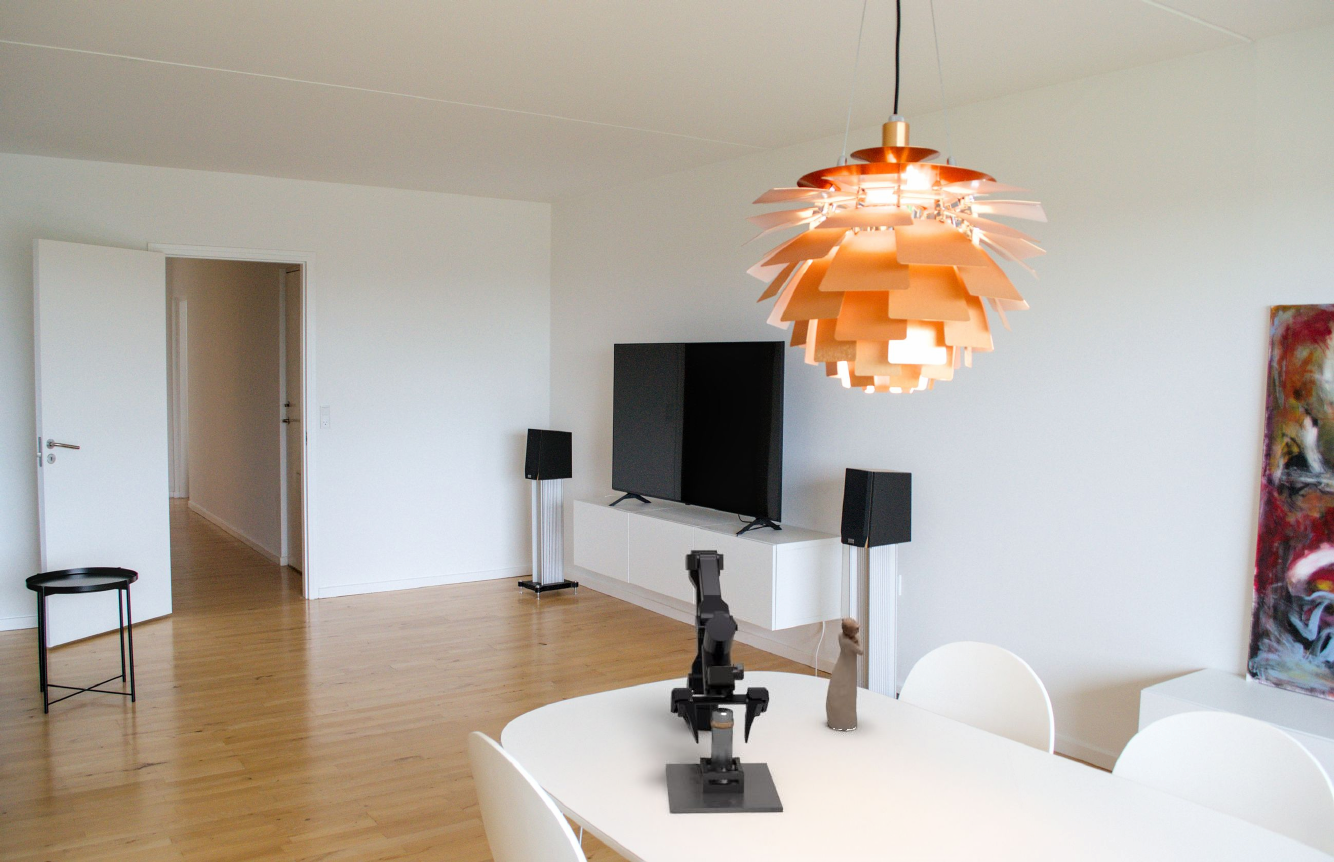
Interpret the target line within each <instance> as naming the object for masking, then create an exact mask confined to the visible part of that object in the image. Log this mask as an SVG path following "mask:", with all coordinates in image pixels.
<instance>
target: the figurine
mask: <svg viewBox="0 0 1334 862" xmlns="http://www.w3.org/2000/svg"><path fill="white" fill-rule="evenodd" d="M840 625H841V630H840V631H839V633H838V635H837V638H838V639H837V640H838V644H839V647H840V652H839V655H838V658H837V660H836V663H835V664H834V667H833V669H832V671H831V674H830V679H829V683H828V687H827V693H826V700H825V712H826V717H827V725H828V724H829V726H830V727H832V728H835V729H842V730H847V729H853V728H855V727H856V726H857V727H858V715H857V714H858V713H857V703H858V702H857V699H858V698H857V695H858V655H859V656H861V657H862V656H863V655H864V646H863V645H862V641H861V638H860V636H859V634H858V633H859V632H860V627H861V626H860V624H859V622H857V620H856V619H854V618H853V617H846V618H843V617H842V618H841V624H840ZM829 726H828V727H829ZM830 727H829V728H830ZM832 728H831V729H832Z"/></svg>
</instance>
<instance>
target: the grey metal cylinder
mask: <svg viewBox="0 0 1334 862" xmlns="http://www.w3.org/2000/svg"><path fill="white" fill-rule="evenodd" d="M734 725H735V720H734V710H733V709H731V708H728V707H719V708H715V709H713V710H712V718H711V726H712V729H711V730H710V731H711V737H710V739H711V740H710V741H711V742H710V743H711V745H710V746H711V748H710V749H711V750H710V751H711V752H710V758H711V772H713V771H732V757H733V749H734V748H733V747H734V746H733V745H734V742H733V741H734V740H733V739H734V738H733V736H734ZM711 783H732V779H728V780H711Z"/></svg>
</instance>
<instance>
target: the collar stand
mask: <svg viewBox="0 0 1334 862" xmlns="http://www.w3.org/2000/svg"><path fill="white" fill-rule="evenodd" d="M665 771H666V779H667V790H668V799H669V808H670V814H685V813H686V814H690V813H691V814H693V813H694V814H695V813H698V814H699V813H702V814H703V813H704V814H705V813H707V814H708V813H709V814H711V813H779V812H780V813H782V812H784V806H783V803H782V801H781V798H780V796H779V793H778V790H777V788H776V785H775V782H774V779H773V776H772V775H771V772H770V769H769V765H768V763H767V762H742V763H741V757H739V756H732V771H713V772H711V757H701V756H700V757H699V763H666V764H665ZM728 779H732V783H711V780H728Z"/></svg>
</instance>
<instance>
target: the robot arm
mask: <svg viewBox="0 0 1334 862" xmlns="http://www.w3.org/2000/svg"><path fill="white" fill-rule="evenodd" d="M684 560H685V568H684V569H685V571H687V572H688V580H689V582H690V583H691V585H692V587H693V588H694V589H695V591H694V592H695V615H694V629H695V631H694V632H695V633H696V635H695V636H696V656H695V658H694V659H693V661H692V663H691V665H690V667H689V672H688V673H687V679H686V684H685V685H686V686H685V687H674V688H672V690H670V691H671V692H670V713H671V714H677V717H678V718H682V719H683V721H684V722H685V723H686V725H687V727H688V728H689V730H690V732H691V735H692V738H693V739H694V742H695V744H699V741H700V740H699V730H707V731H711V729H712V726H711V718H712V710H713V709H715V708H720V707H719V706H725V705H729V706H730V705H731V706H733V705H738V706H739V705H740V706H741V705H742V706H744V705H745V713H744V733H743V734H744V735H743V739H744V743H745V744H748V741H749V738H750V737H749V736H750V733H751V727H752V725H753V723H754V720H755V718H756V717H760V716H761V714H763V713H766V712H767V710H768V708H769V703H770V692H769V689H768V688H766V687H765V686H763V687H761V686H758V687H756V686H755V687H754V686H753V687H747V690H746V693H737V694H736V693H734V691H736V682H735V681H743V680H744V678H745V669H744V662H733V664H732V656H731V650H732V649H733V645H734V639H735V638H734V637H735V635H736V632H738V631H739V628H738V627H739V626H738V623H737V621H736V620H735V619H734V615H731V612H730V607H729V604H728V603H727V602H726V601H725V600H723V598H722V590H721V583H720V576H721V571H724V570H725V568H724V566H725V565H724V553H719V552H718V550H717V549H691V550H690V552H689V553H687V554H685V559H684Z"/></svg>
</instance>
